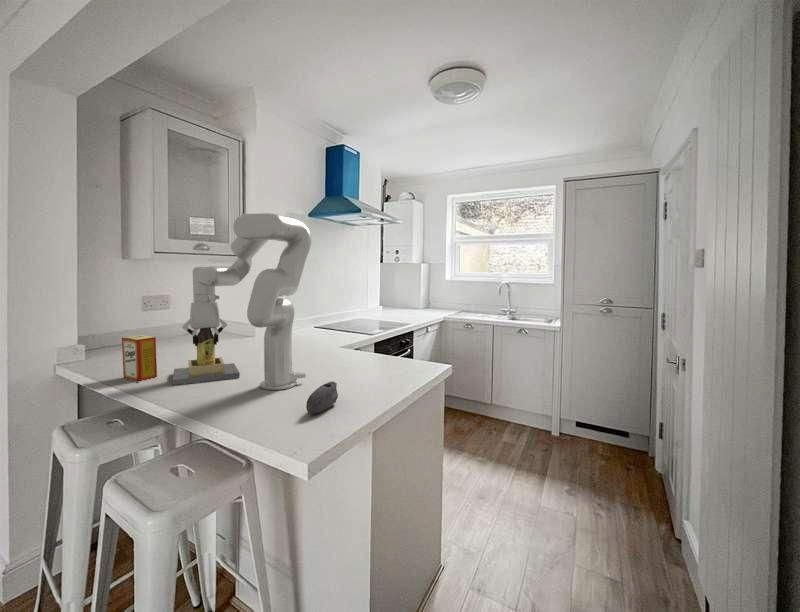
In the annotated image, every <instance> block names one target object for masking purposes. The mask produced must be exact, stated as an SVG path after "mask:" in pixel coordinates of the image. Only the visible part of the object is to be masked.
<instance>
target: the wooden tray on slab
mask: <svg viewBox="0 0 800 612" xmlns="http://www.w3.org/2000/svg"><path fill="white" fill-rule="evenodd" d="M187 361H188V362H187V364H188V365H187V366H188V367H179V368H173V374H172V375H173V376H172V385H173V386H179V385H178V384H181V385H187V384H186V383H190V384H197V383H196V382H199V383H206V382H205V381H208V382H215V381H214V380H216V381H222V380H223V379H225V380H231V378H234V379H240V378H239V377H240V372H239V369H238V367H237V366H236V364H235V363H234V362H233V363H232V362H231V363H225V362H224V360H223V358H222V356H221V357H215V364H212V365H201V366H198V365H197V359H189V360H187ZM223 381H224V380H223Z"/></svg>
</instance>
